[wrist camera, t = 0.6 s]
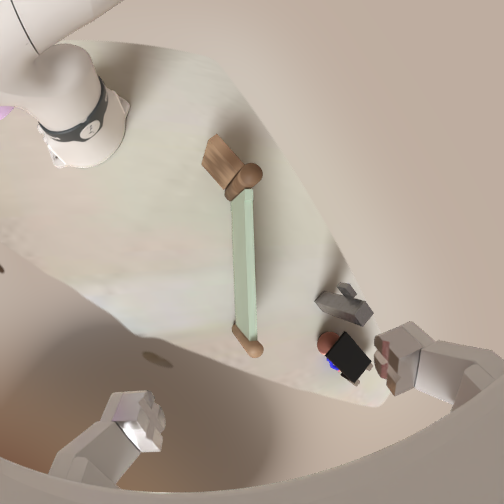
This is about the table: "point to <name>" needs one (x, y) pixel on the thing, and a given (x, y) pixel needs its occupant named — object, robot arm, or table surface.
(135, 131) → the table surface
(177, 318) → the table surface
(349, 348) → the figurine character
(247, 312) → the gate
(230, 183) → the wooden hinge block
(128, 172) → the table surface
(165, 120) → the table surface
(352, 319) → the latch post
